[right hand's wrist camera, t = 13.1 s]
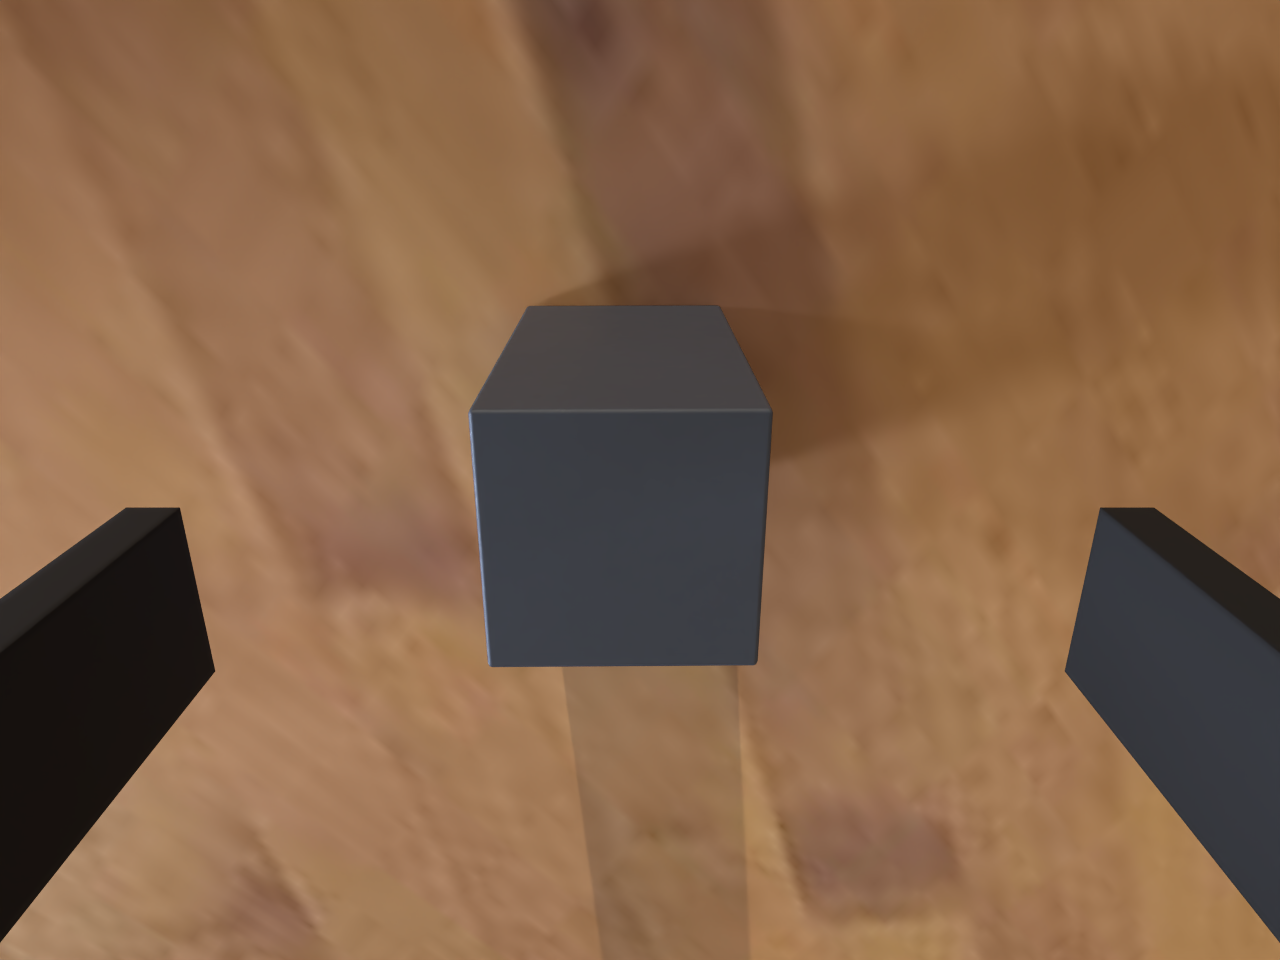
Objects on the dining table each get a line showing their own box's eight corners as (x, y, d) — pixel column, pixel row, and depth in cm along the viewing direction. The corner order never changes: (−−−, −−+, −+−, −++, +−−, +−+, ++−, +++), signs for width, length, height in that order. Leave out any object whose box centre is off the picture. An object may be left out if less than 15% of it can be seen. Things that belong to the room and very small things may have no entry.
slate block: (535, 484, 22) (487, 668, 14) (527, 305, 20) (467, 410, 13) (713, 483, 22) (758, 666, 14) (720, 304, 20) (774, 408, 13)
